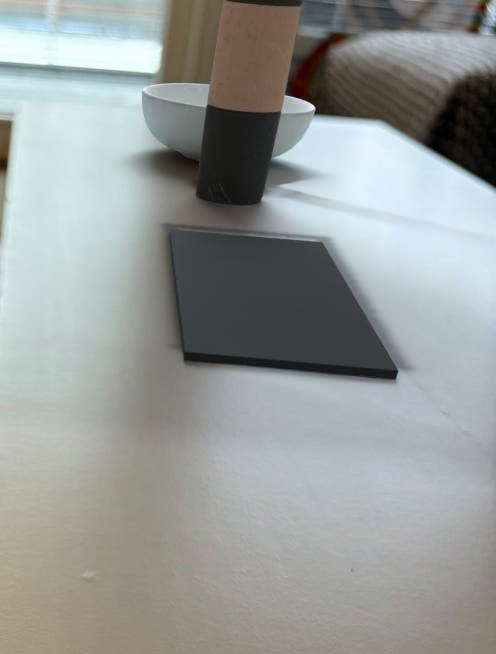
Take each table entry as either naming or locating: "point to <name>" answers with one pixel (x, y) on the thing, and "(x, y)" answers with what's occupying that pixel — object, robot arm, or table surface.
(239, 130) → the travel mug
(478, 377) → the table surface
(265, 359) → the mat
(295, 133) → the serving bowl
